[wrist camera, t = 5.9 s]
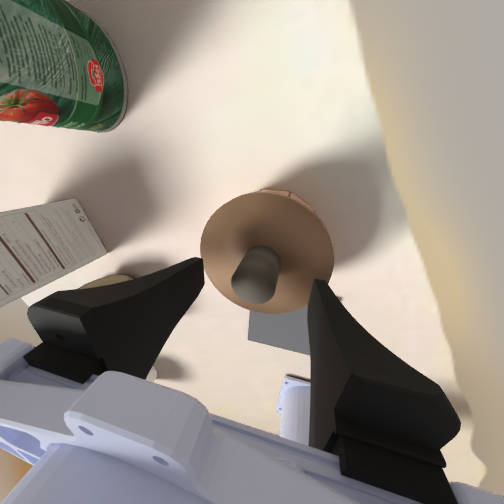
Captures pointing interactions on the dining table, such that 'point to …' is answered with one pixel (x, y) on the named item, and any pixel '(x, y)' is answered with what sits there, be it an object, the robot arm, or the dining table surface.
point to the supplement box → (44, 246)
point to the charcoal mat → (281, 330)
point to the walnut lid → (266, 252)
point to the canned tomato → (58, 68)
